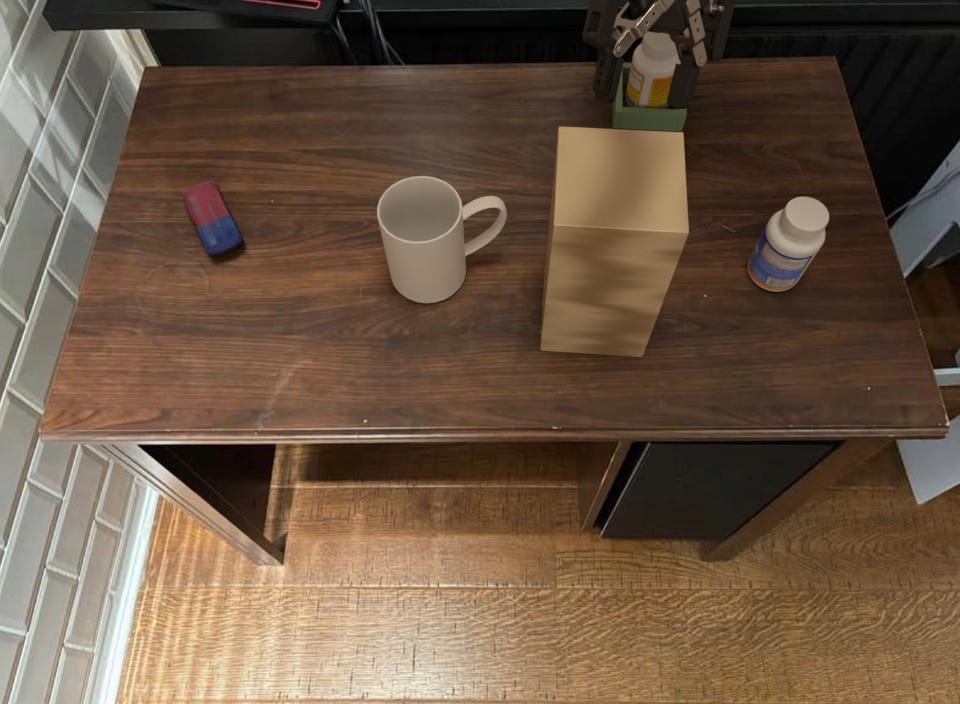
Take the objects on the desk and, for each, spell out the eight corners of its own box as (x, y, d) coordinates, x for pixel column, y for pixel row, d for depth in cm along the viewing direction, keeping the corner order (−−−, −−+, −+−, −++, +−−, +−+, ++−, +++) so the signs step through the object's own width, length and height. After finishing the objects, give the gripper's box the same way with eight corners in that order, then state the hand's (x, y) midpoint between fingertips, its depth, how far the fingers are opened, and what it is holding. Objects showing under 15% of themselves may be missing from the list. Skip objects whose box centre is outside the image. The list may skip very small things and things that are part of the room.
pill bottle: (766, 241, 79) (799, 179, 70) (809, 271, 77) (849, 211, 68) (735, 271, 77) (765, 212, 68) (778, 303, 75) (815, 246, 66)
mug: (397, 311, 75) (383, 250, 66) (385, 249, 79) (370, 183, 70) (513, 288, 76) (516, 225, 67) (496, 228, 80) (496, 160, 71)
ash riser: (640, 272, 77) (683, 132, 59) (642, 357, 72) (689, 232, 55) (544, 266, 78) (558, 125, 60) (539, 350, 73) (553, 225, 55)
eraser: (181, 196, 83) (175, 185, 82) (216, 182, 84) (210, 171, 82) (213, 267, 78) (207, 257, 77) (250, 251, 79) (244, 241, 77)
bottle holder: (679, 82, 90) (684, 65, 87) (681, 131, 86) (687, 114, 84) (612, 79, 90) (615, 62, 88) (612, 128, 87) (615, 111, 84)
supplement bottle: (675, 96, 89) (694, 27, 80) (661, 127, 86) (679, 59, 78) (632, 83, 90) (646, 13, 81) (617, 113, 88) (630, 45, 79)
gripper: (652, -119, 54) (603, 108, 62) (784, -84, 61) (726, 117, 68) (593, -118, 60) (554, 91, 67) (720, -86, 67) (672, 101, 74)
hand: (641, 104), depth 68 cm, fingers open, 8 cm apart
